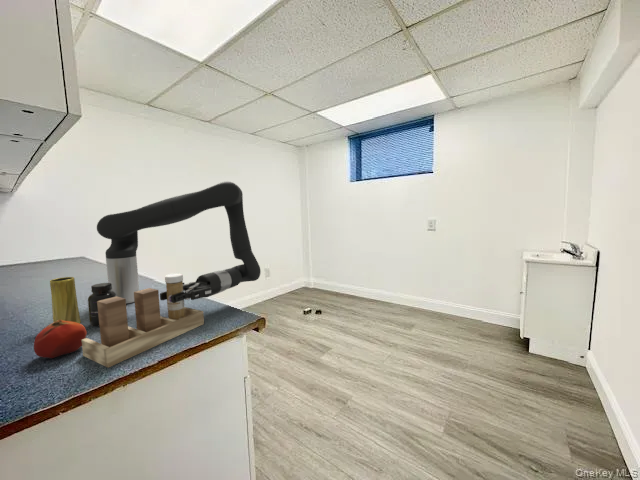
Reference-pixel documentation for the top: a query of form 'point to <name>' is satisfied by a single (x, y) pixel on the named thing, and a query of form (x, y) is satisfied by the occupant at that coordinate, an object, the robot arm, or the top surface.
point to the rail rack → (130, 341)
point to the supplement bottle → (99, 293)
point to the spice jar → (173, 287)
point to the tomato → (59, 339)
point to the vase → (64, 300)
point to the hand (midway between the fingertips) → (166, 298)
